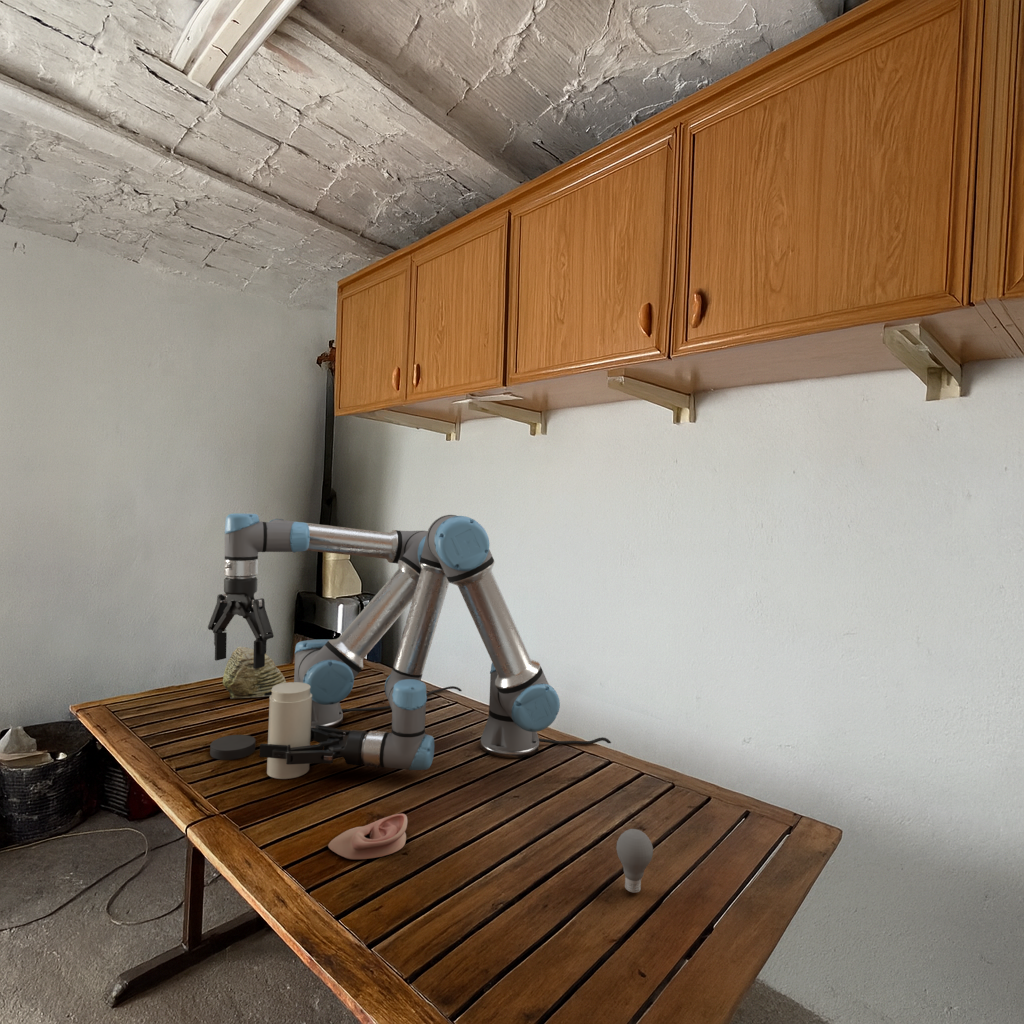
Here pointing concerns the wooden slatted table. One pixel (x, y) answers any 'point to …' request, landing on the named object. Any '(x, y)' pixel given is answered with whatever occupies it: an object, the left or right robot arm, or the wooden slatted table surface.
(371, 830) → the anatomical model
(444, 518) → the right robot arm
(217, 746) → the lid
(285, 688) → the jar
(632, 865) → the light bulb
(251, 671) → the fossil
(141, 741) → the wooden slatted table surface
